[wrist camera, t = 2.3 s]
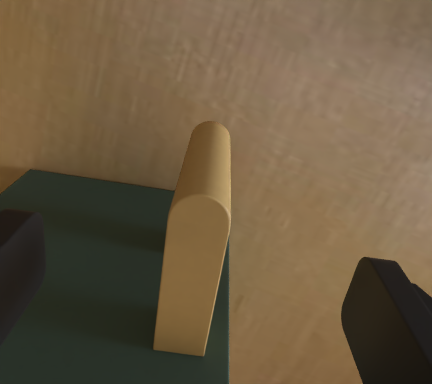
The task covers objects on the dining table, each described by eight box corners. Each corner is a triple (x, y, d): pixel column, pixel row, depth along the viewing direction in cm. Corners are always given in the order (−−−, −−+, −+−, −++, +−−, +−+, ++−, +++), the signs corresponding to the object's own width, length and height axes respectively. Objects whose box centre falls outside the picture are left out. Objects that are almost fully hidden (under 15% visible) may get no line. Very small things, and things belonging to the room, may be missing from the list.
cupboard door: (22, 64, 23) (-308, 161, 9) (248, 101, 23) (277, 248, 9) (30, 181, 26) (-194, 383, 12) (226, 211, 27) (224, 436, 13)
